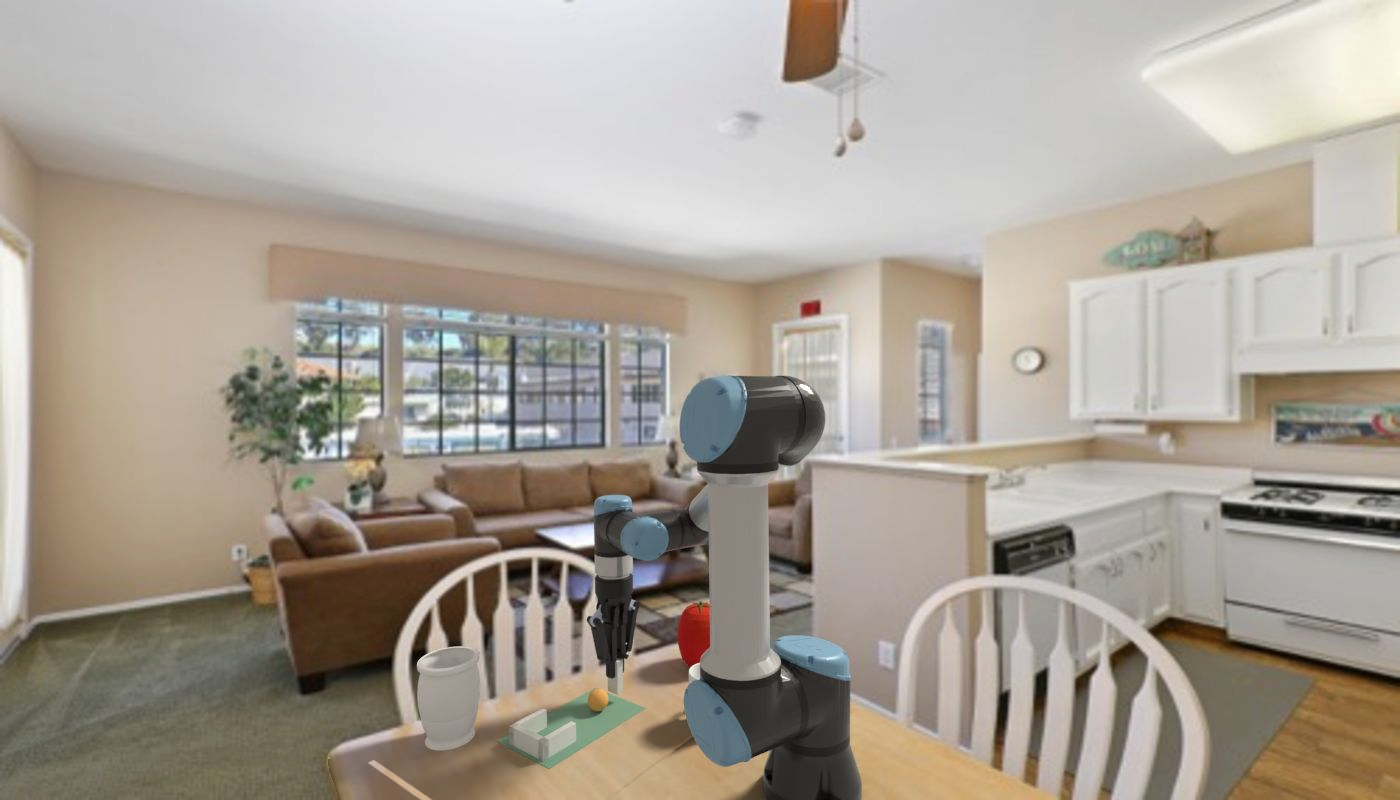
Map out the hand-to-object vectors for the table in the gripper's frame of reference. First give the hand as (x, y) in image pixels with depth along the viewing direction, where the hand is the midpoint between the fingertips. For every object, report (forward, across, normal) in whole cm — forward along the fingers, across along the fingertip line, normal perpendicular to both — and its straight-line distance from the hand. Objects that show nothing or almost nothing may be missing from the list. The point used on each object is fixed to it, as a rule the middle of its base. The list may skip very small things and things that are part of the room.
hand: (615, 691), depth 128 cm
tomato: (+3, -24, +4) cm, 25 cm away
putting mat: (+2, +11, 0) cm, 11 cm away
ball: (0, +5, 0) cm, 5 cm away
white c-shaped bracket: (+2, +18, 0) cm, 18 cm away
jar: (+3, +27, -15) cm, 31 cm away
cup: (+3, -6, +19) cm, 20 cm away
